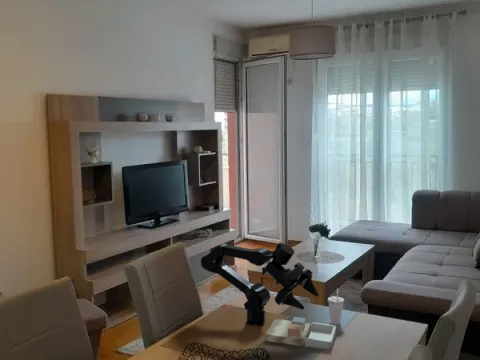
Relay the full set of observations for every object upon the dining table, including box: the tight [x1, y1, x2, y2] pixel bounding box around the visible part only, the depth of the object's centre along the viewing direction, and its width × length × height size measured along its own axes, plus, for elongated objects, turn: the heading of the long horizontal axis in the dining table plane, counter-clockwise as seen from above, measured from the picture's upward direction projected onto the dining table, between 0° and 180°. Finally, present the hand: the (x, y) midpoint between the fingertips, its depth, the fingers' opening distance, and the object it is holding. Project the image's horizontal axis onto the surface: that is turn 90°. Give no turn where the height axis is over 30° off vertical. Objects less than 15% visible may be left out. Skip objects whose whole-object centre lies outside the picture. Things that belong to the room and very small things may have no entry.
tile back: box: [291, 316, 307, 329], centre depth 187 cm, size 4×4×2 cm
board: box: [264, 318, 312, 347], centre depth 185 cm, size 14×15×2 cm
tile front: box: [288, 324, 302, 337], centre depth 180 cm, size 4×4×2 cm
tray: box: [304, 322, 337, 351], centre depth 181 cm, size 9×15×3 cm, turn 162°
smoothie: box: [327, 287, 345, 325], centre depth 196 cm, size 6×6×14 cm
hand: (311, 302), depth 182 cm, fingers open, 9 cm apart
